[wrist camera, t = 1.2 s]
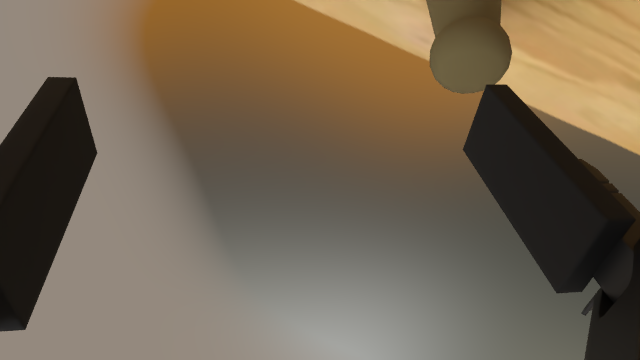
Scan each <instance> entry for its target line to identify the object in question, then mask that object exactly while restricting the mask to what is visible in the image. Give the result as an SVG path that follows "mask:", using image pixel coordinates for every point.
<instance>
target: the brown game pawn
mask: <svg viewBox="0 0 640 360" xmlns="http://www.w3.org/2000/svg"><path fill="white" fill-rule="evenodd" d="M426 1H427V5H428V9H429V13H430V18H431V22H432V26H433V30H434V34H435V40H434V42H433V44H432V47H431V50H430V68H431V70H432V72H433V75H434V77H435V79H436V80H437V81H438V82H439V83H440V84H441V85H442V86H443V87H444V88H446V89H448V90H450V91H452V92H457V93H475V92H479V91H483V90H484V89H485V87H486V84H492V85H494V84H496V83H497V82H498V81H499V80H500V79H501V78H502V77H503V75H504V74H505V72H506V71H507V69H508V68H509V64H510V60H511V55H512V50H511V45H510V40H509V36H508V35H507V33H506V32H505V30H504V29H503V28H502V27H501V25H500V17H501V0H426Z"/></svg>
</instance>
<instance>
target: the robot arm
mask: <svg viewBox="0 0 640 360" xmlns="http://www.w3.org/2000/svg"><path fill="white" fill-rule="evenodd" d="M463 150H464V152H465V153H466V155H467V157H468V158H469V160H470V161H471V163H472V164H473V166H474V167H475V169H476V170H477V172H478V173H479V175H480V177H481V178H482V180H483V181H484V183H485V184H486V186H487V187H488V189H489V190H490V192H491V193H492V195H493V196H494V198H495V199H496V201H497V202H498V204H499V206H500V207H501V209H502V210H503V212H504V213H505V215H506V216H507V218H508V219H509V221H510V222H511V224H512V226H513V227H514V229H515V230H516V232H517V233H518V235H519V236H520V238H521V239H522V241H523V242H524V244H525V245H526V247H527V249H528V250H529V252H530V253H531V255H532V256H533V258H534V259H535V261H536V262H537V264H538V265H539V267H540V268H541V270H542V271H543V273H544V275H545V276H546V278H547V279H548V281H549V282H550V283H551V285H552V287H553V288H554V290H555V291H556V293H568V292H582V291H583V290H584V288H585V287H586V286H587V284H588V283H589V282H590V280H591V279H592V278H593V277H594V279H595V280H596V281H597V283H598V284H599V285H600V287H601V288H600V289H599V290H598V291H597V293H596V294H595V295H594V297H593V298H592V299H591V301H590V302H589V303H588V304H587V305H586V307H585V308H584V310H583V311H582V314H583V315H586V314H587V313H588V312H589V311H590V310H592V315H591V322H590V328H589V334H588V340H587V346H586V352H585V359H584V360H640V212H639V211H638V210H637V209H636V208H635V207H634V206H633V205H632V204H631V203H630V202H629V201H628V200H627V199H626V198H625V197H624V196H623V195H622V194H621V193H618V190H617V189H616V188H615V187H614V186H613V184H609V180H608V179H606V177H604V176H603V174H602V173H601V172H600V171H599V170H598V169H596V168H595V167H593V166H591V165H590V164H588V163H587V162H585V161H584V160H582V159H578V158H577V157H576V156H575V155H574V154H573V153H572V152H571V151H570V150H569V149H568V148H567V147H566V146H565V145H564V144H563V143H562V142H561V141H560V140H559V139H558V138H557V137H556V136H555V135H554V133H553V132H552V131H551V130H550V129H549V128H548V127H547V126H546V125H545V124H544V123H543V122H542V121H541V120H540V119H539V118H538V117H537V116H536V115H535V114H534V113H533V112H532V111H531V109H529V108H528V106H527V105H526V104H525V103H524V102H523V101H522V100H521V99H520V98H519V97H518V96H517V95H516V94H515V93H514V92H513V91H512V90H511V89H510V88H509V87H508V86H507V85H492V84H486V87H485V89H484V93H483V95H482V98H481V101H480V103H479V106H478V109H477V112H476V115H475V117H474V120H473V123H472V126H471V129H470V131H469V134H468V137H467V140H466V143H465V145H464V148H463ZM96 155H97V150H96V147H95V143H94V140H93V136H92V133H91V129H90V126H89V122H88V118H87V115H86V112H85V108H84V104H83V101H82V97H81V94H80V90H79V86H78V83H77V79H76V78H66V77H48V78H47V79H46V81H45V82H44V84H43V85H42V86H41V88H40V89H39V91H38V92H37V94H36V95H35V97H34V98H33V99H32V101H31V102H30V103H29V105H28V106H27V108H26V109H25V111H24V112H23V114H22V115H21V116H20V118H19V119H18V121H17V122H16V123H15V125H14V126H13V128H12V129H11V131H10V132H9V133H8V135H7V137H6V138H5V139H4V140H3V142H2V143H1V145H0V331H13V330H25V329H26V327H27V324H28V322H29V319H30V317H31V314H32V312H33V309H34V307H35V304H36V302H37V300H38V297H39V294H40V292H41V290H42V287H43V285H44V282H45V280H46V277H47V275H48V273H49V270H50V268H51V265H52V263H53V260H54V258H55V255H56V253H57V250H58V248H59V246H60V243H61V241H62V238H63V236H64V233H65V231H66V228H67V226H68V223H69V221H70V218H71V216H72V214H73V211H74V209H75V206H76V204H77V201H78V199H79V196H80V194H81V192H82V189H83V186H84V184H85V182H86V179H87V177H88V174H89V172H90V169H91V167H92V165H93V162H94V160H95V157H96Z"/></svg>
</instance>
